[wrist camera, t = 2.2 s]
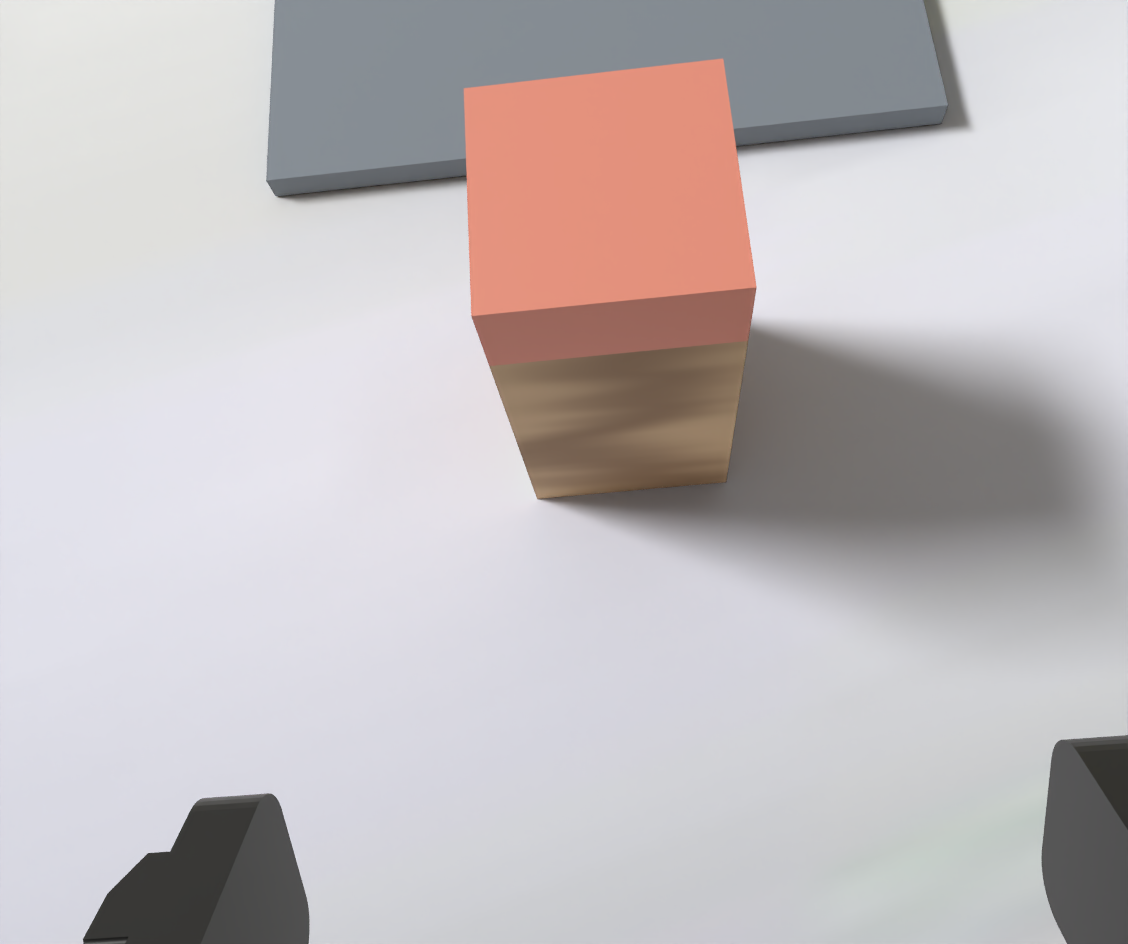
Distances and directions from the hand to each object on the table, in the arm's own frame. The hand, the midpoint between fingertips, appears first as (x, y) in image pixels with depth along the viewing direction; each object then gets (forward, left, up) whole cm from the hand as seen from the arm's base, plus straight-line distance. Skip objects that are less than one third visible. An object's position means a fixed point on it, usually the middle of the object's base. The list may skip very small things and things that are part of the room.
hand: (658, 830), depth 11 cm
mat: (0, +26, -14) cm, 30 cm away
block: (0, +11, -15) cm, 18 cm away
